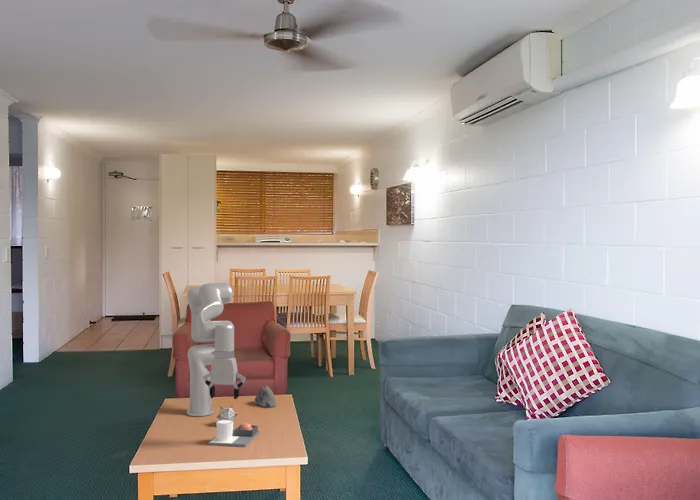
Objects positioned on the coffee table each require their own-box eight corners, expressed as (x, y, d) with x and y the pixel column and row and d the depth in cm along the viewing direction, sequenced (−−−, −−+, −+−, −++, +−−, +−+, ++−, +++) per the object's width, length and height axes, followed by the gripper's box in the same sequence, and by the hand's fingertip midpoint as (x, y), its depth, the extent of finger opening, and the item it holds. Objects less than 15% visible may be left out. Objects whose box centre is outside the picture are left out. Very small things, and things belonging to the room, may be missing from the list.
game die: (229, 434, 279) (231, 419, 273) (212, 426, 280) (213, 411, 275) (239, 420, 286) (241, 405, 280) (222, 412, 288) (224, 397, 282)
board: (224, 431, 270) (224, 423, 270) (259, 433, 268) (259, 425, 268) (208, 445, 252) (208, 436, 252) (245, 446, 250) (245, 437, 250)
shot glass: (218, 442, 252) (218, 424, 252) (214, 437, 258) (214, 420, 258) (235, 440, 254) (235, 422, 254) (231, 435, 261) (231, 418, 261)
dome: (242, 431, 267) (242, 421, 267) (254, 432, 266) (254, 421, 266) (238, 435, 262) (238, 424, 262) (250, 435, 261) (250, 425, 261)
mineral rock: (255, 402, 322) (255, 382, 322) (276, 401, 323) (276, 381, 323) (253, 408, 309) (253, 387, 309) (276, 408, 310) (276, 387, 310)
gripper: (200, 355, 253) (199, 399, 254) (242, 357, 251) (242, 401, 251) (207, 352, 261) (207, 394, 261) (248, 353, 258) (248, 396, 258)
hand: (224, 397), depth 256 cm, fingers open, 9 cm apart
